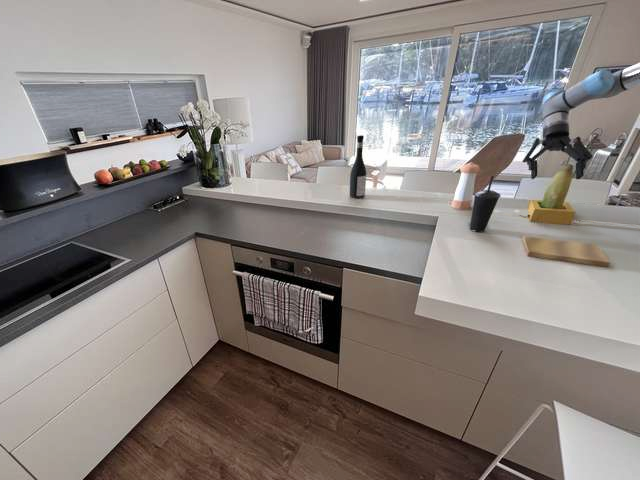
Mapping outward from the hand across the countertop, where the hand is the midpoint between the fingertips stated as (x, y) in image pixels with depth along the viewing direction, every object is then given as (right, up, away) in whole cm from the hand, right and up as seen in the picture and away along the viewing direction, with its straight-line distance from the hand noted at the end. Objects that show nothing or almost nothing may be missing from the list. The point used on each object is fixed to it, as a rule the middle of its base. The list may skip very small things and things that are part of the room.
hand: (556, 177), depth 107 cm
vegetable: (0, -15, +4) cm, 15 cm away
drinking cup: (-30, -20, 0) cm, 36 cm away
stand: (0, -15, +4) cm, 15 cm away
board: (-16, -29, -18) cm, 38 cm away
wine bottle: (-63, +4, +46) cm, 78 cm away
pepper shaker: (-23, -7, +21) cm, 32 cm away
